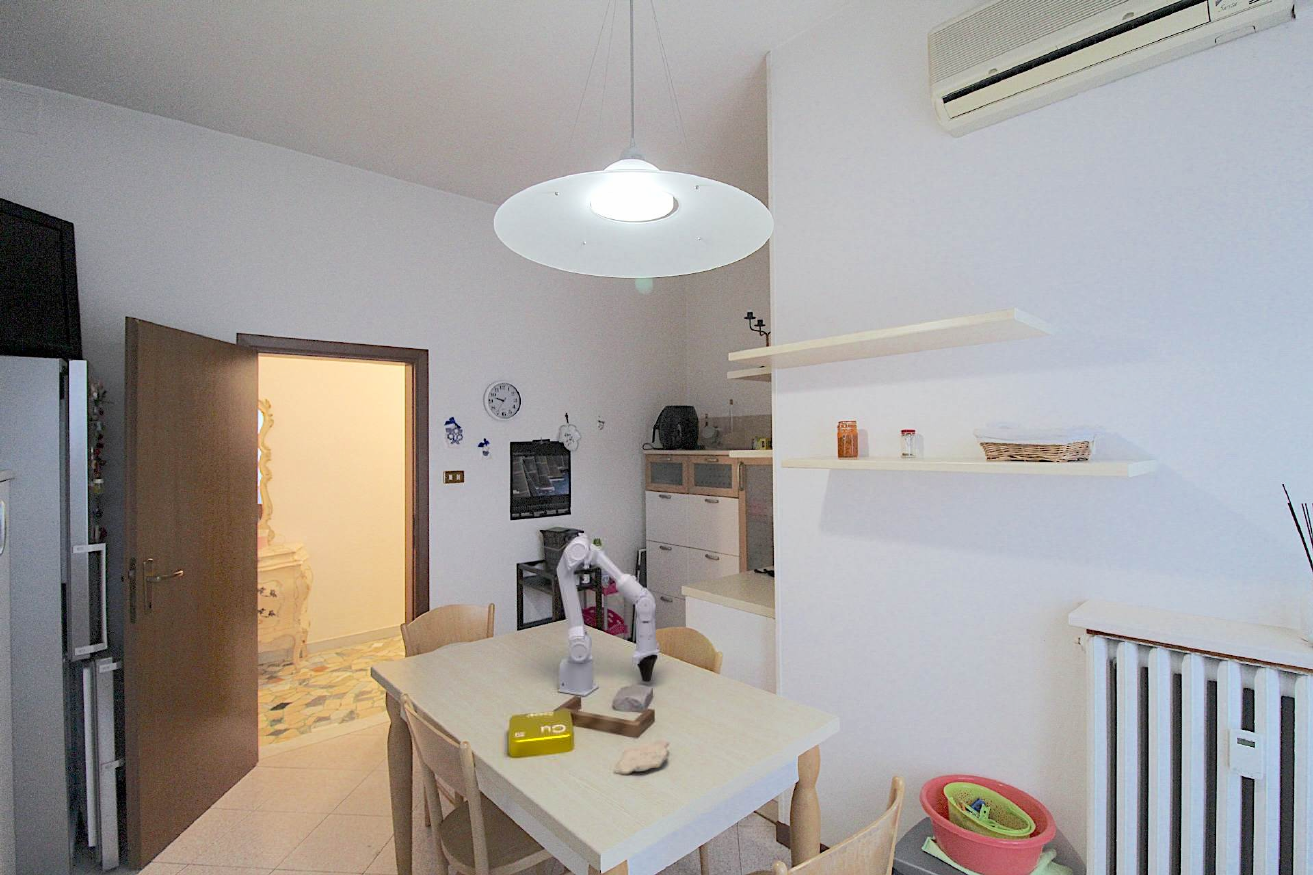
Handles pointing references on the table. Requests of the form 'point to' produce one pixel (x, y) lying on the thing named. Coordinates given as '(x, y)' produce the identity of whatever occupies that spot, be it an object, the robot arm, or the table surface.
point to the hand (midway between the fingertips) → (646, 680)
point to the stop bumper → (607, 720)
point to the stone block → (633, 698)
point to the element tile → (540, 734)
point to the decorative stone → (642, 757)
